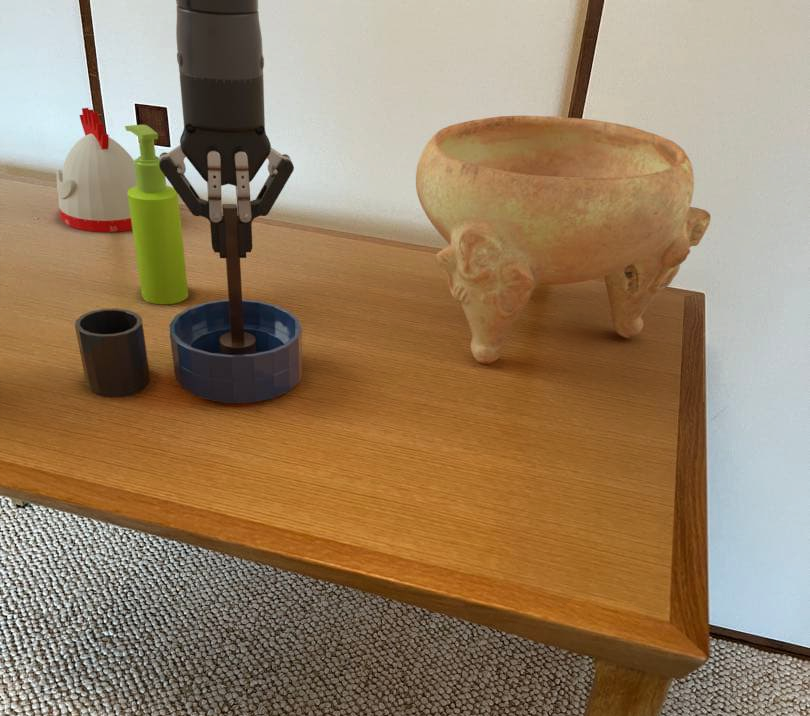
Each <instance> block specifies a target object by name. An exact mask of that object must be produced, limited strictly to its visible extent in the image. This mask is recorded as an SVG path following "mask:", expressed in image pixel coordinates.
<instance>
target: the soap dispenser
mask: <svg viewBox="0 0 810 716" xmlns="http://www.w3.org/2000/svg"><path fill="white" fill-rule="evenodd" d="M124 129H125V131H126V132H131V133H132V134H134V135H135V136H137V138H138V145H139V154H140V156H138V157H137V158H135V159H133V160H134V165H135V173H136V180H137V186H135V187H133V188H130V189H129V190H128V192H127V194H128V201H129V208H130V215H131V222H132V235H133V243H134V251H135V256H136V263H137V270H138V271H137V272H138V279H139V285H140V292H141V298H142V299H143V300H144V301H146V302H147V303H149V304H154V305H174V304H178V303H182V302H184V301H185V300H186V299H187V298H188V297H189V288H188V287H189V286H188V279H187V270H186V269H187V268H186V260H185V259H186V258H185V249H184V240H183V230H182V229H183V228H182V221H181V211H180V203H179V202H180V201H179V195H178V193H177V192H176V190H175V189H174V188H173V186H170V185H167V178H166V176H165V175H164V174H163V172H162V171H161V169H160V166H159V157H160V156H157V155H156V146H155V140H159V134H158V132H157V131H155V130H154V129H153V128H151V126H149V125H147V124H134V125H132V124H131V125H125V126H124Z"/></svg>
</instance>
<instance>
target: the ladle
mask: <svg viewBox="0 0 810 716" xmlns="http://www.w3.org/2000/svg"><path fill="white" fill-rule="evenodd" d="M221 205H222V216H223V219H224V222H225V236H226V252H227V258H225V268H226V283H227V284H226V285H227V300H229V316H230V331H231V332H229V333H226V334H224V335H222V336H221V337H220V339H219V341H220V354H226V355H244V354H255V353H256V339H255V337H254V336H253V335H252V334H249V333H246V332H244V324H243V305H242V299H243V291H242V290H243V288H242V287H243V286H242V271H241V269H242V268H241V258H240V257H239V239H238V208H237V203H221Z"/></svg>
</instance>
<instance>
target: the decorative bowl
mask: <svg viewBox="0 0 810 716" xmlns="http://www.w3.org/2000/svg"><path fill="white" fill-rule="evenodd" d="M694 188H695V176H694V169H693V164H692V163H691V161H690V158H689V156H688V154H687V153H686V152H685V150H684V149H683V148H682V147H681V146H680V145H678V144H677V143H676V142H674V140H673V141H672V140H670V139H668V138H665V137H664V136H661V135H658V134H656V133H653V132H650V131H646V130H644V129H641V128H637V127H634V126H629V125H625V124H620V123H617V122H609V121H603V120H596V119H587V118H579V117H578V118H577V117H564V116H563V117H562V116H553V115H552V116H551V115H549V116H548V115H545V116H544V115H501V116H493V117H486V118H480V119H473V120H467V121H463V122H459V123H453V124H452V125H448V126H446V127H443V128H441V129H439V130H438V131H437V132H435V134H433V135H432V137H431V138H430V139H429V140H428V142H427V143H426V145H425V146H424V148H423V149H422V151H421V154H420V156H419V158H418V161H417V165H416V171H415V189H416V195H417V197H418V201H419V203H420V207H421V208H422V210H423V212H424V214H425V215H426V217H427V219H428V220H429V222H430V223H431V224H432V226H433V227H434V229H435V230H436V231H437V232H438V234H439V235H440V236H441V237H442V238H443V239H444V240H445V242H446V243H447V244H448V246H446V247H444V248H443V249H441V250H439V251H438V252H437V253H436V255H435V262H436V264H437V265H438V266H439V267H440V268H441V269H443V270H444V271H445V274H446V280H447V284H448V287H449V291H450V294H451V296H452V298H453V299H454V300H455V301H457V302H459V303H460V306H461V308H462V310H463V312H464V315H465V317H466V319H467V323H468V327H469V329H470V332H471V336H472V338H471V341H470V350H471V353H472V356H473V357H474V359H475V360H476V361H477V362H478V363H480V364H485V365H488V364H491V363H493V362H495V361H497V360H498V359H500V356H501V355H502V351H503V349H504V346H505V342H506V340H507V337H508V334H509V332H510V329H511V327H513V324H514V322H515V321H516V319H517V318H518V317H519V314H520V312H521V311H522V310H523V308H524V307H525V306H526V305H527V304H528V302H529V300H530V298H531V296H532V294H533V292H534V290H535V288H536V286H537V285H548V286H553V285H554V286H556V285H557V286H558V285H571V284H577V283H583V282H588V281H589V282H590V281H593V280H597V279H600V278H603V279H604V282H605V288H606V291H607V296H608V302H609V307H610V313H611V319H612V325H613V327H614V330H615V332H616V333H617V334H618V335H619V336H621V337H623V338H624V339H625V338H626V339H630V338H634V337H636V336H638V335H639V334H640V333H641V331H642V329H643V327H644V320H643V318H642V315H643V314H644V312H645V311H646V310H647V308H648V307H649V305H650V304H651V303H652V302H653V300H654V299H655V298H656V297H657V295H658V294H659V293H661V292H662V291H664V290H665V289H666V288H668V287H669V286H670V284H671V283H672V281H673V280H674V278H675V277H676V276H677V275H678V273H679V270H680V268H681V264H683V263H684V262H685V261H686V260H687V258H688V256H689V254H690V253H691V249H690V248H691V247H696V246H698V245H699V244H700V243H701V240H702V239H703V237H704V235H705V234H706V231H707V229H708V227H709V226H710V223H711V214H710V212H709V211H707V210H705V209H702V208H699V207H693V206H691V204H692V201H693V195H694V190H695V189H694Z"/></svg>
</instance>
